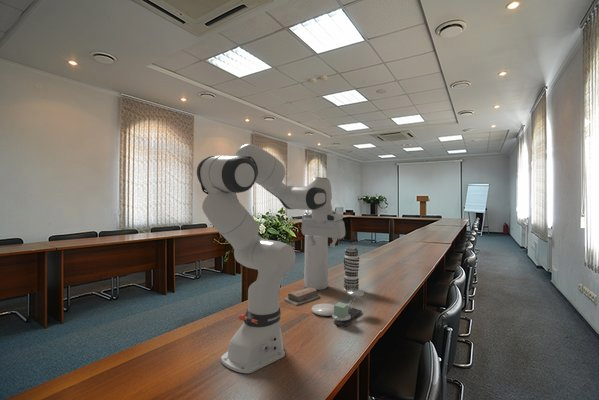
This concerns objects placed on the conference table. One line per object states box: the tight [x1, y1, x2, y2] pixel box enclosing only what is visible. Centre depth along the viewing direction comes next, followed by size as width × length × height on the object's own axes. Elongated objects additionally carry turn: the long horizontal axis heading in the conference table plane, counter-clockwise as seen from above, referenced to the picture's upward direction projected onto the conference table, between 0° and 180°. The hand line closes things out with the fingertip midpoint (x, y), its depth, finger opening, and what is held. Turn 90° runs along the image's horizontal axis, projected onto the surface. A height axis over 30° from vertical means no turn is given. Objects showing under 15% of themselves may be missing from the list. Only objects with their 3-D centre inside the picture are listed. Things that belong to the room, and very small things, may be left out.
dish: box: [311, 303, 335, 317], centre depth 137 cm, size 13×13×2 cm
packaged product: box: [283, 287, 321, 306], centre depth 154 cm, size 18×5×10 cm
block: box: [333, 301, 349, 318], centre depth 124 cm, size 4×4×4 cm
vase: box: [303, 235, 329, 291], centre depth 175 cm, size 14×14×32 cm
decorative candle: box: [343, 246, 360, 292], centre depth 169 cm, size 9×9×25 cm
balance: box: [331, 288, 365, 327], centre depth 130 cm, size 22×8×10 cm, turn 145°
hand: (323, 246), depth 125 cm, fingers open, 8 cm apart
